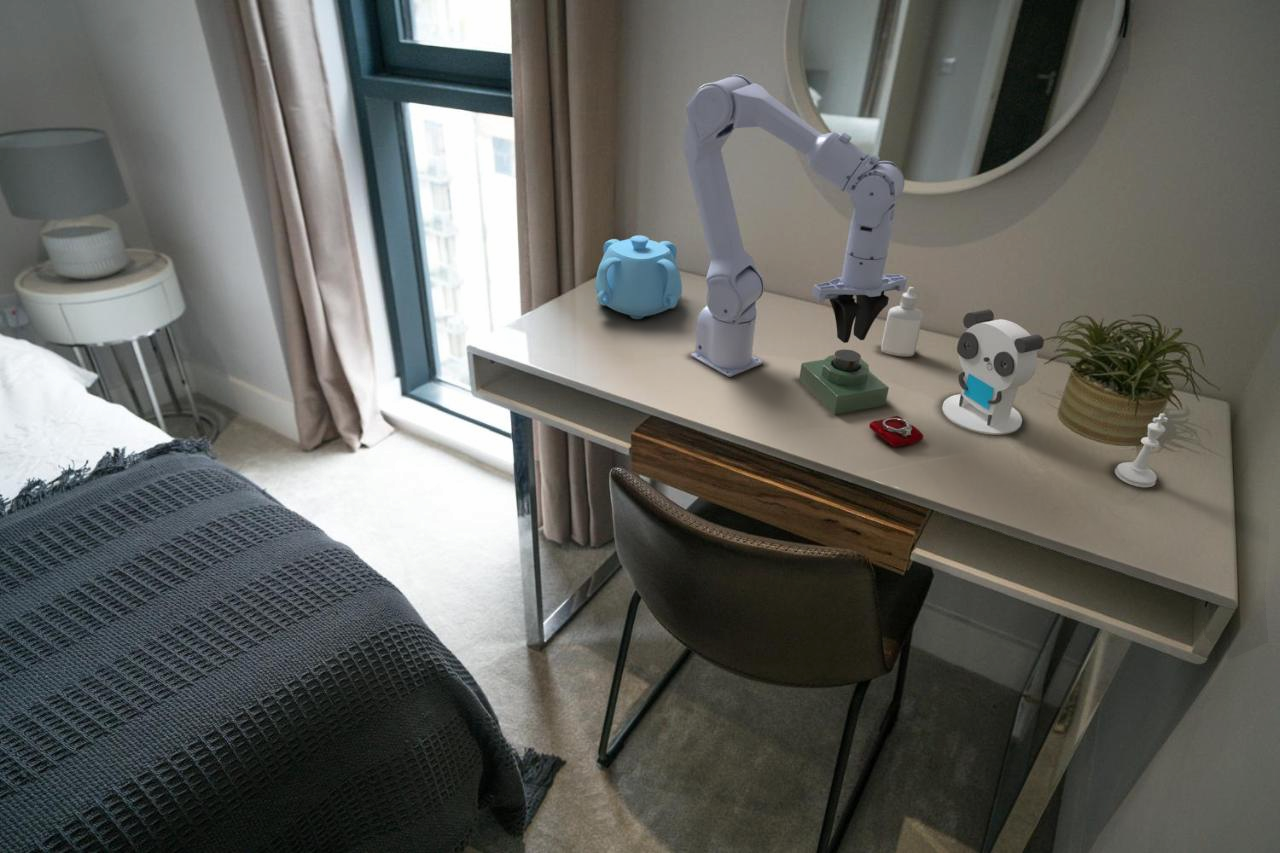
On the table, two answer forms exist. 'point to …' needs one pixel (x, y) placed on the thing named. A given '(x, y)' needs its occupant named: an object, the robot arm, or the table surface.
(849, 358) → the black push button
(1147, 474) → the chess piece
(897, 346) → the eye dropper bottle
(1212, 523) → the table surface
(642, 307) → the decorative pot
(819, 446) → the table surface
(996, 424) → the panda figurine
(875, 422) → the engagement ring
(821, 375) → the green button base
